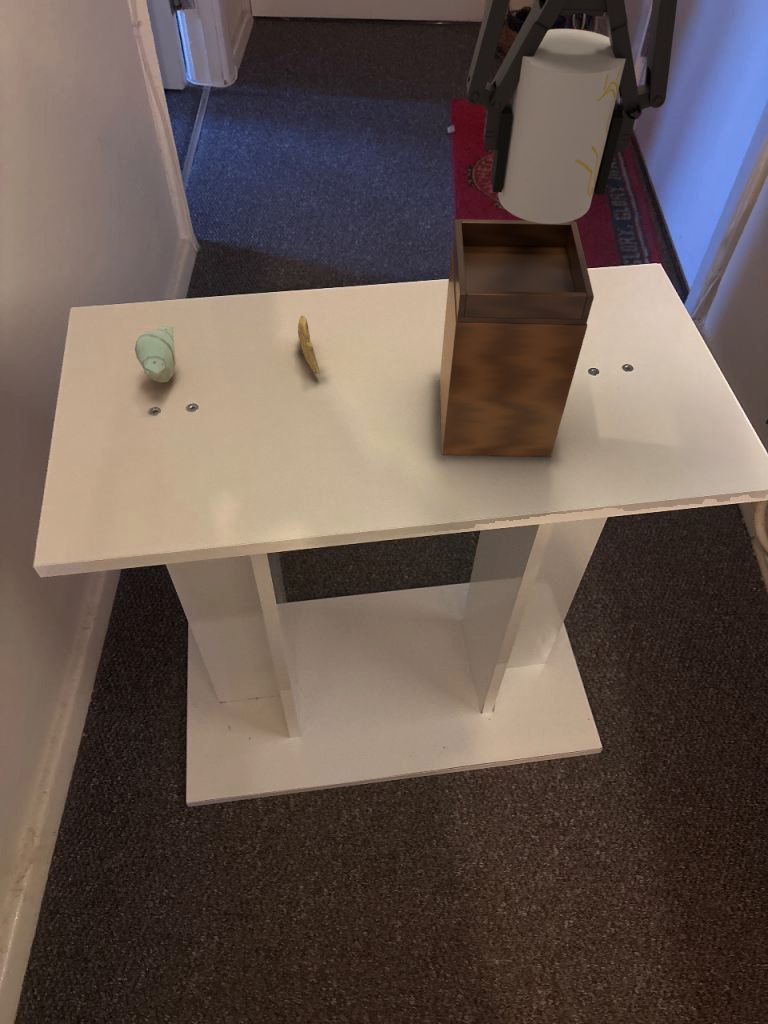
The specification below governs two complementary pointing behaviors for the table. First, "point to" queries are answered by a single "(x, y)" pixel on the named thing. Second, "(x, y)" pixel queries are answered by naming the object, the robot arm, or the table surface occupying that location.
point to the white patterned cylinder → (560, 126)
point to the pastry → (307, 344)
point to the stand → (504, 383)
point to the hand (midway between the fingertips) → (546, 184)
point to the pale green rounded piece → (157, 353)
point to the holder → (520, 272)
